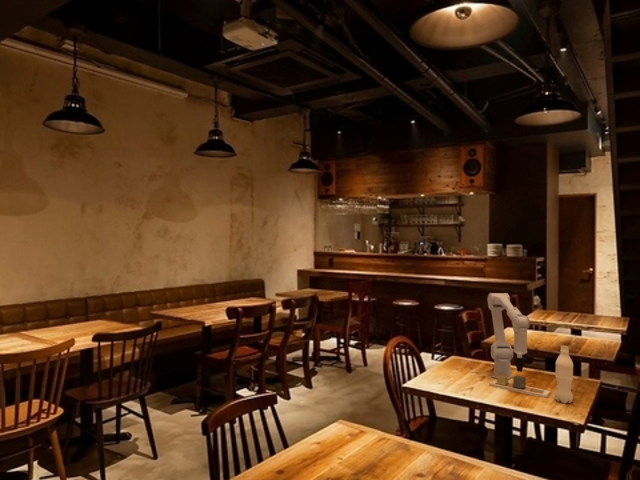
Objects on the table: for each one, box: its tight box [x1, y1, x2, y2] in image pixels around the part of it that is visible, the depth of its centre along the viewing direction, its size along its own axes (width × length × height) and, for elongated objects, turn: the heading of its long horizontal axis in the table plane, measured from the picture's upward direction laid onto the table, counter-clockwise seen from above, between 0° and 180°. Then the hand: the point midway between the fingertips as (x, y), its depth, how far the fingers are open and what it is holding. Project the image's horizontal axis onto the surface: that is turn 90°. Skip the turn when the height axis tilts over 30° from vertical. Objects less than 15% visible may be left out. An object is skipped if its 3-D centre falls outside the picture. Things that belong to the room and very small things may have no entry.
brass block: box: [496, 373, 509, 386], centre depth 227 cm, size 4×4×6 cm
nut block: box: [512, 374, 527, 390], centre depth 222 cm, size 4×4×6 cm
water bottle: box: [554, 345, 574, 404], centre depth 206 cm, size 7×7×25 cm
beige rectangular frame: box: [488, 379, 552, 399], centre depth 222 cm, size 8×26×1 cm, turn 50°
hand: (519, 369), depth 222 cm, fingers open, 7 cm apart
